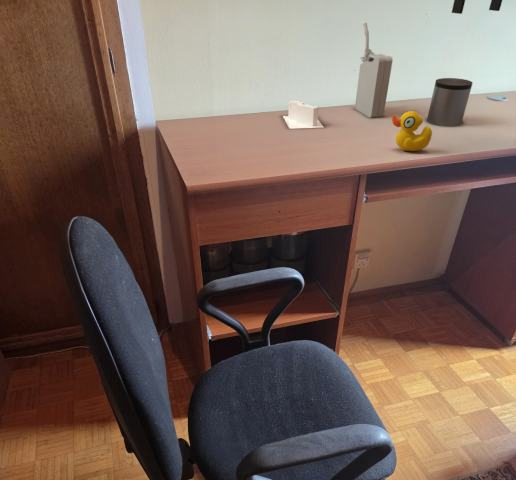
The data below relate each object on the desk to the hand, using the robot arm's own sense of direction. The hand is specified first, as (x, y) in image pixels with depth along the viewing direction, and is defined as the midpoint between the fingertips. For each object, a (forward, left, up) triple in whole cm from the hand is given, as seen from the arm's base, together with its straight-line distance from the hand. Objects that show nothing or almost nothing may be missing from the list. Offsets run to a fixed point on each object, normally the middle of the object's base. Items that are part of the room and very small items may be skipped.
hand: (475, 12), depth 114 cm
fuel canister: (+24, +26, -31) cm, 47 cm away
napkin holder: (+6, +45, -31) cm, 55 cm away
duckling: (-14, +10, -31) cm, 35 cm away
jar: (+19, 0, -31) cm, 36 cm away
